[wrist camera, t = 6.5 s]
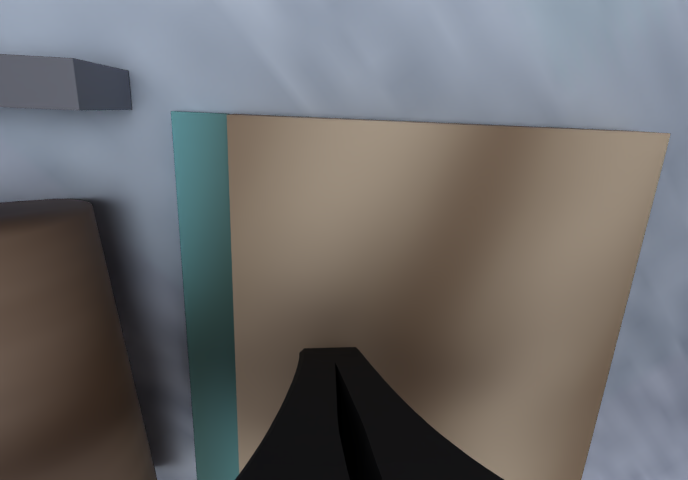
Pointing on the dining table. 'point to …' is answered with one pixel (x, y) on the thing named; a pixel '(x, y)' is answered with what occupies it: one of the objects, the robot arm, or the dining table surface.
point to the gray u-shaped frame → (62, 84)
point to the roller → (63, 352)
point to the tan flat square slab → (410, 273)
